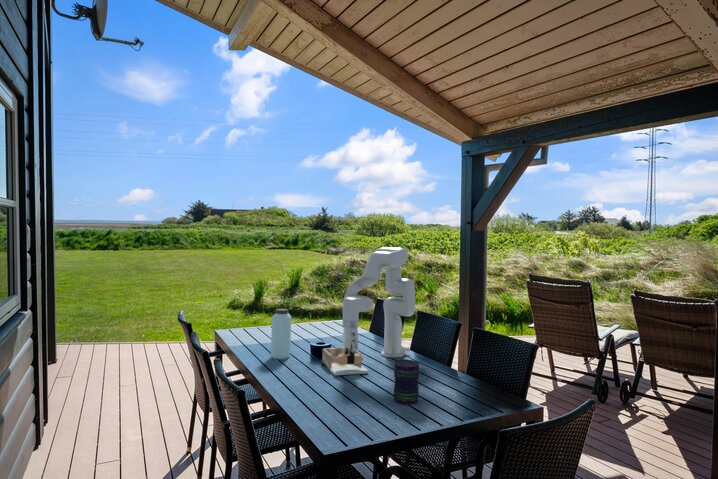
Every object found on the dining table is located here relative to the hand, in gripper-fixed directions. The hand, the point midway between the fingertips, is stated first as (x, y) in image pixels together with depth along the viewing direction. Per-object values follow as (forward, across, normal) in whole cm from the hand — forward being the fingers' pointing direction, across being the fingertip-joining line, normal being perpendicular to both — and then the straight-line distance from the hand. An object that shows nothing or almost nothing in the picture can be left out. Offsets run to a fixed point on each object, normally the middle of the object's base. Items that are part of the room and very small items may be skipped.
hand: (349, 362), depth 211 cm
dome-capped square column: (0, 0, 0) cm, 0 cm away
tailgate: (+4, +5, 0) cm, 7 cm away
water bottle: (+5, +34, +27) cm, 44 cm away
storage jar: (+5, -40, -11) cm, 42 cm away
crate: (+5, +13, 0) cm, 14 cm away
